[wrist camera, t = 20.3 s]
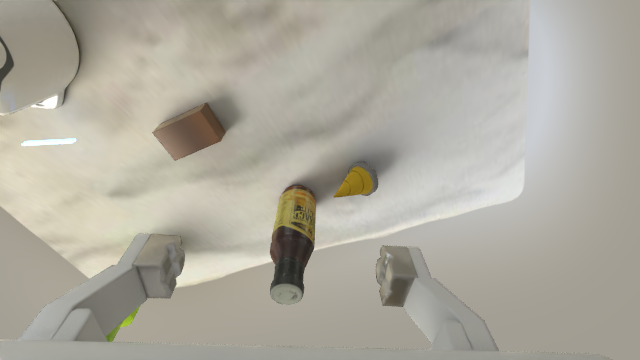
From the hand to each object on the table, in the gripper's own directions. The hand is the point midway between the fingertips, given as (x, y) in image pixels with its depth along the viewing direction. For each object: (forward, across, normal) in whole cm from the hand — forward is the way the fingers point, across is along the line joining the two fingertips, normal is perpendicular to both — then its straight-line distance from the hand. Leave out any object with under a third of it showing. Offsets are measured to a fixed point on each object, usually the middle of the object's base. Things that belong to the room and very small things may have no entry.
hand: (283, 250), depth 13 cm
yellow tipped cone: (+34, -10, +18) cm, 40 cm away
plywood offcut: (+34, +15, +11) cm, 39 cm away
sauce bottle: (+34, -1, +23) cm, 41 cm away
